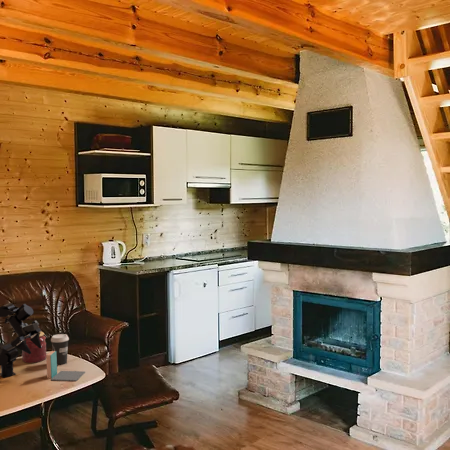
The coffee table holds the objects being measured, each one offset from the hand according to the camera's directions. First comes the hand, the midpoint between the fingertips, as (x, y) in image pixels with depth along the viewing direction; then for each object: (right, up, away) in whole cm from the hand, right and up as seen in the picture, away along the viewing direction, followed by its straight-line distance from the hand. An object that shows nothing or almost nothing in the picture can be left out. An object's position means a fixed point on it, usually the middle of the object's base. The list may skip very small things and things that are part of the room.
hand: (35, 350), depth 271 cm
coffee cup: (+6, -12, +22) cm, 26 cm away
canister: (-11, -12, +29) cm, 33 cm away
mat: (+16, -13, +1) cm, 21 cm away
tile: (+8, -13, +2) cm, 16 cm away
